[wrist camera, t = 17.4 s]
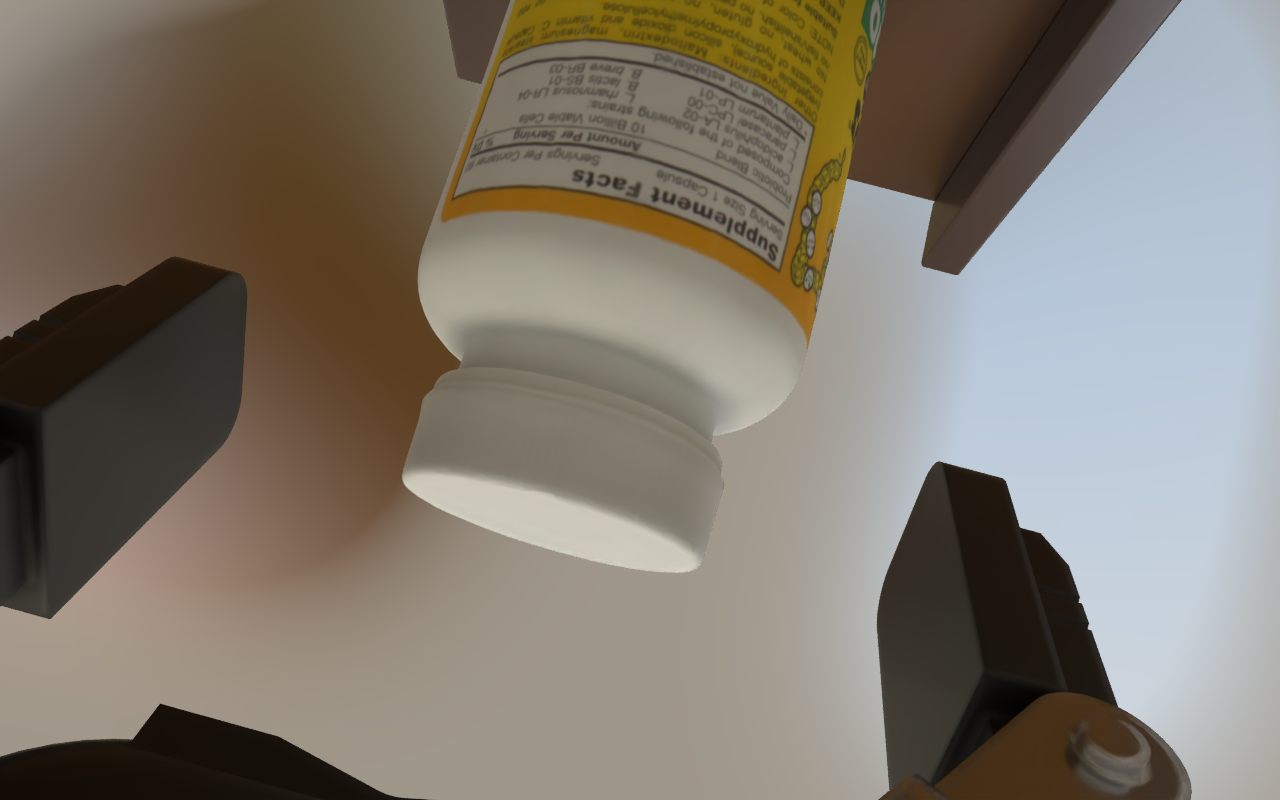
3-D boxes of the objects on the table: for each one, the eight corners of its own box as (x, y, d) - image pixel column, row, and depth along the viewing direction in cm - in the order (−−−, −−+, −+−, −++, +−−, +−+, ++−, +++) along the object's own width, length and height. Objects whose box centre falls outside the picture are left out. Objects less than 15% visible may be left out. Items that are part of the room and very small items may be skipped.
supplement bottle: (638, -298, 14) (389, 423, 11) (980, -90, 15) (843, 583, 12) (512, -56, 18) (319, 485, 16) (783, 82, 20) (652, 593, 17)
